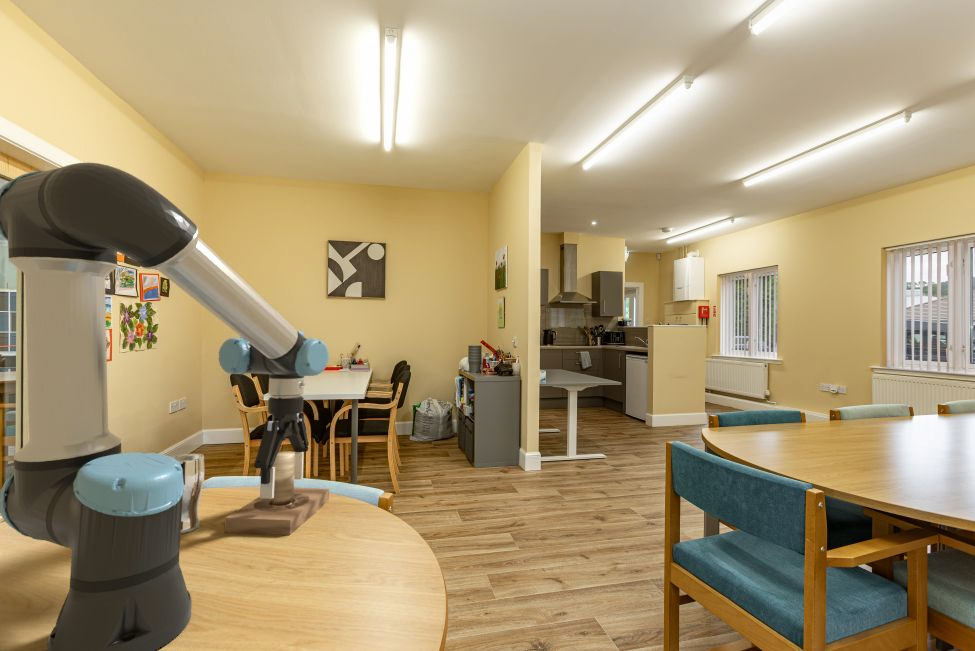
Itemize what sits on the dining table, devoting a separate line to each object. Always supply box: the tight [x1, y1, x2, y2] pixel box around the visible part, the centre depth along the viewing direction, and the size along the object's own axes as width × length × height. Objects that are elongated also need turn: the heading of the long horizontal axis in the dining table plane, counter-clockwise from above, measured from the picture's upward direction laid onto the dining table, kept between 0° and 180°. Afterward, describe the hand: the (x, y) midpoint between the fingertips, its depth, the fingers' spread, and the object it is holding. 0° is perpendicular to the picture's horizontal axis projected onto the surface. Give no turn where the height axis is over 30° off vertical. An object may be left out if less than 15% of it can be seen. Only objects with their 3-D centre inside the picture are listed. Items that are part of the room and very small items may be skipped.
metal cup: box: [171, 453, 205, 535], centre depth 94 cm, size 7×7×15 cm
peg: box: [271, 450, 296, 506], centre depth 102 cm, size 5×5×14 cm
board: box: [224, 487, 330, 536], centre depth 102 cm, size 20×14×3 cm
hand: (282, 487), depth 102 cm, fingers open, 13 cm apart
